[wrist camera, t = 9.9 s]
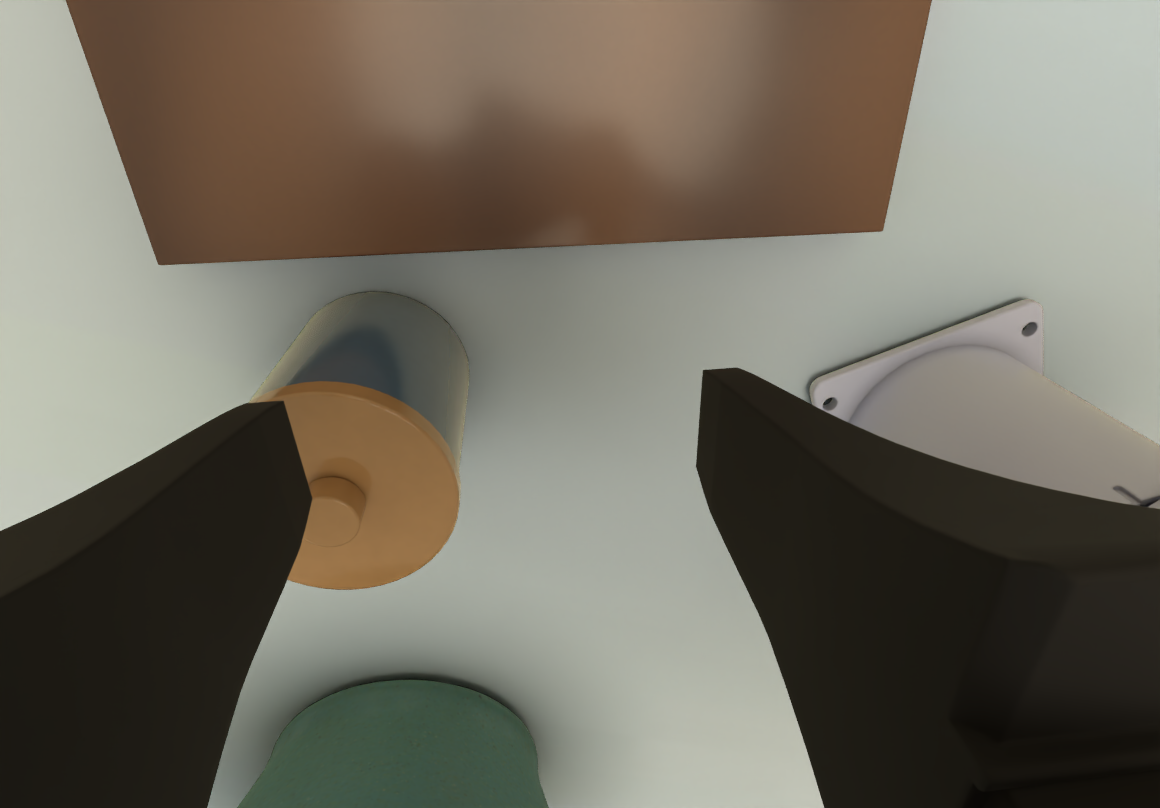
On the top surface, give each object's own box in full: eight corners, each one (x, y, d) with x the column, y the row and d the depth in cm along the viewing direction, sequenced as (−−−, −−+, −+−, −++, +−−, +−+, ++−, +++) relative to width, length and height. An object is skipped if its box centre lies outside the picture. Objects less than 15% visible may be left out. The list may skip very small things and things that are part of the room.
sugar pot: (500, 409, 21) (498, 566, 15) (353, 466, 22) (287, 644, 15) (421, 259, 19) (375, 370, 12) (255, 329, 19) (124, 472, 13)
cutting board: (942, -217, 15) (984, -244, 13) (858, 220, 20) (883, 231, 18) (27, -228, 13) (-28, -260, 12) (183, 250, 18) (157, 265, 17)
